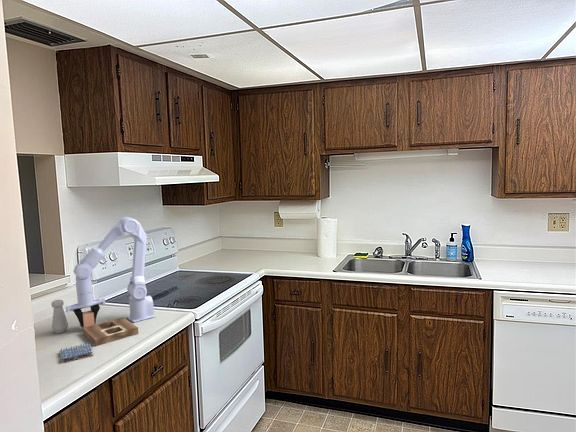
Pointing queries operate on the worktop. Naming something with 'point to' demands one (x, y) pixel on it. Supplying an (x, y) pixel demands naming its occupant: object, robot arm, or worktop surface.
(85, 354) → the woven mat
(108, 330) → the wooden peg board
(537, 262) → the worktop surface
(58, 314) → the salt shaker
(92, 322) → the pin
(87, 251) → the robot arm
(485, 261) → the worktop surface
